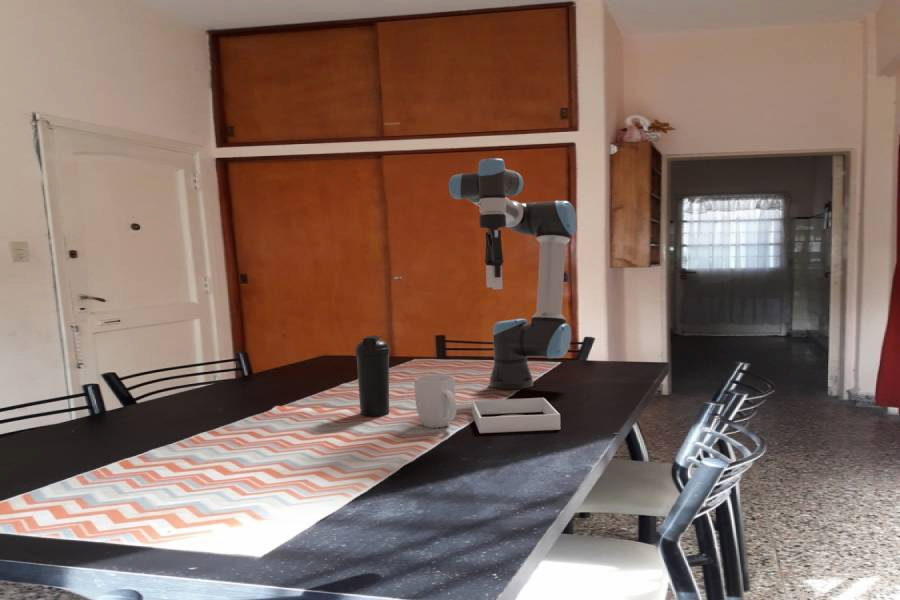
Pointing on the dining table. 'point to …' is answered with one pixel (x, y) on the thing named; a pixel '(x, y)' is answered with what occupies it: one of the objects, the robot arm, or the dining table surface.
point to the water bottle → (373, 376)
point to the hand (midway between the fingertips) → (494, 288)
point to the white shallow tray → (515, 421)
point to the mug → (435, 399)
